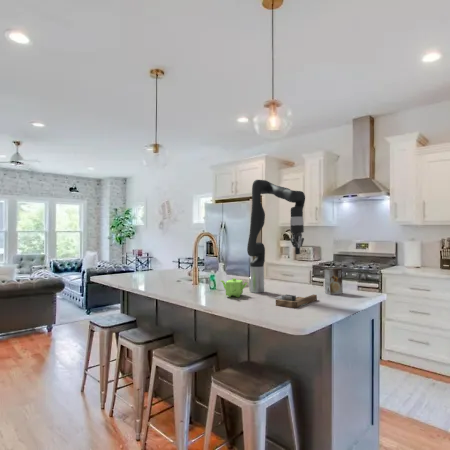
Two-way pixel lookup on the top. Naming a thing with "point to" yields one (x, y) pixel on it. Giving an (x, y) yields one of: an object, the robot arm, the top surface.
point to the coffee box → (333, 281)
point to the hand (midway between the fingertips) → (297, 254)
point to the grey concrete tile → (279, 297)
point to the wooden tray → (299, 301)
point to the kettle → (234, 287)
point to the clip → (289, 297)
